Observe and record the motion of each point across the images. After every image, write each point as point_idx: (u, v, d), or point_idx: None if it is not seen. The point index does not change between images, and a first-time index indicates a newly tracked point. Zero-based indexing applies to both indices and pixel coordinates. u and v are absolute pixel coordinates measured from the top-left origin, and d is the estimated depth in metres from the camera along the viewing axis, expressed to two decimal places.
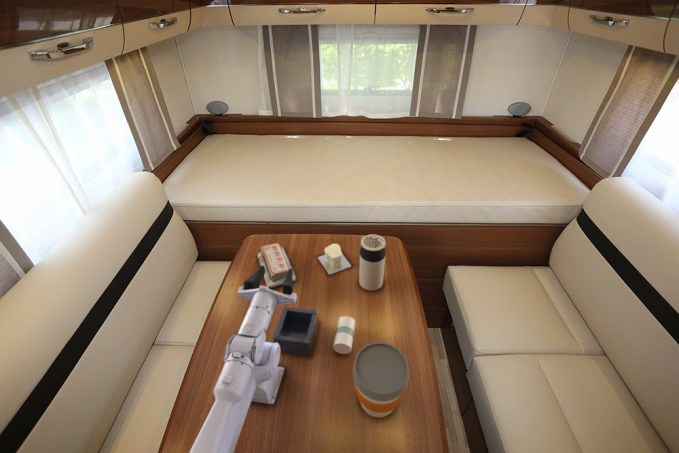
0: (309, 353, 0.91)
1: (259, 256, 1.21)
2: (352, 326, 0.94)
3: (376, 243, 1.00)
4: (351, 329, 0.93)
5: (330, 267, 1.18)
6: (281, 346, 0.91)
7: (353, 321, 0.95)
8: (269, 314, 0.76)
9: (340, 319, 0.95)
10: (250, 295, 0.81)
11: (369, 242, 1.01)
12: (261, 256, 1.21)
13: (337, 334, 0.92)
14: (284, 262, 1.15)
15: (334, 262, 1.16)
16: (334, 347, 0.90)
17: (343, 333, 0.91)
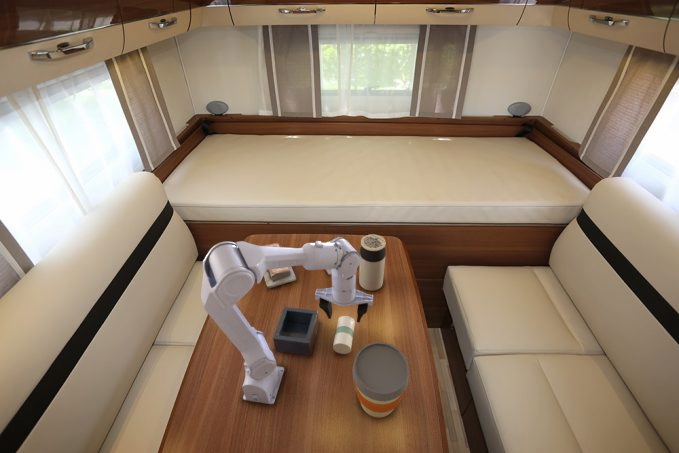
0: (309, 353, 0.91)
1: None
2: (352, 326, 0.94)
3: (376, 243, 1.00)
4: (350, 329, 0.93)
5: None
6: (281, 346, 0.91)
7: (353, 321, 0.95)
8: (352, 287, 0.79)
9: (339, 319, 0.96)
10: (328, 293, 0.84)
11: (369, 242, 1.01)
12: None
13: (336, 334, 0.92)
14: None
15: None
16: (334, 347, 0.90)
17: (342, 333, 0.91)
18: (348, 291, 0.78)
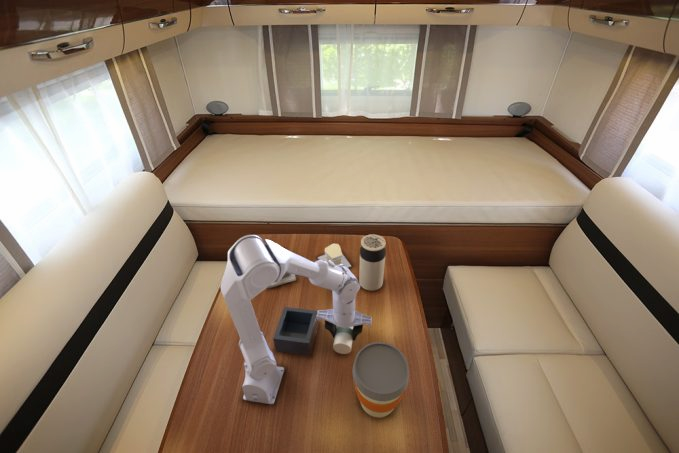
0: (309, 353, 0.91)
1: None
2: (352, 326, 0.94)
3: (376, 243, 1.00)
4: (350, 329, 0.93)
5: None
6: (281, 346, 0.91)
7: None
8: (352, 310, 0.84)
9: None
10: (329, 314, 0.89)
11: (369, 242, 1.01)
12: None
13: (337, 334, 0.92)
14: None
15: (334, 262, 1.16)
16: (334, 347, 0.90)
17: (343, 333, 0.91)
18: (348, 314, 0.84)
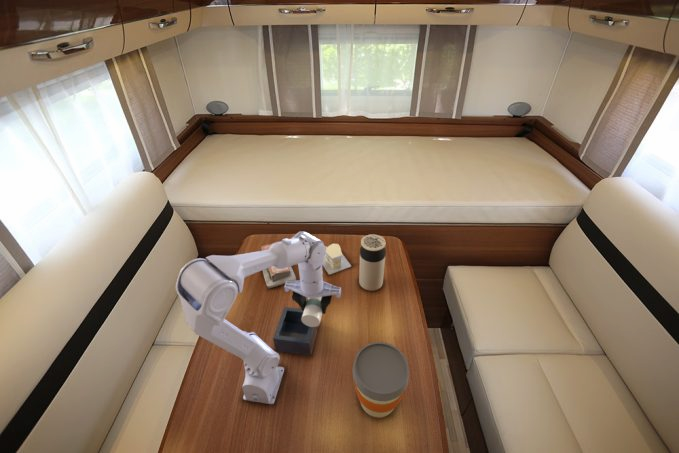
0: (309, 353, 0.91)
1: None
2: None
3: (376, 243, 1.00)
4: (320, 302, 0.89)
5: (330, 267, 1.18)
6: (281, 346, 0.91)
7: None
8: (321, 276, 0.81)
9: None
10: (297, 285, 0.86)
11: (369, 242, 1.01)
12: None
13: (306, 306, 0.88)
14: None
15: (334, 262, 1.16)
16: (302, 319, 0.87)
17: (312, 305, 0.88)
18: (314, 283, 0.80)
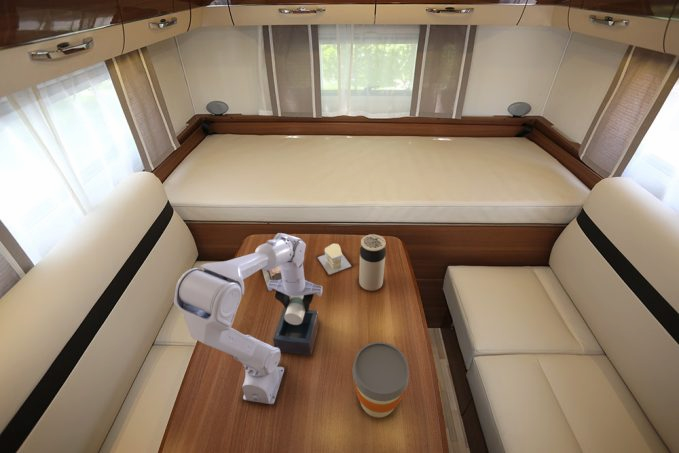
0: (309, 353, 0.91)
1: None
2: None
3: (376, 243, 1.00)
4: None
5: (330, 267, 1.18)
6: (281, 346, 0.91)
7: None
8: (303, 273, 0.84)
9: None
10: (280, 284, 0.88)
11: (369, 242, 1.01)
12: None
13: (289, 305, 0.91)
14: None
15: (334, 262, 1.16)
16: (285, 318, 0.89)
17: (294, 304, 0.90)
18: (296, 282, 0.83)
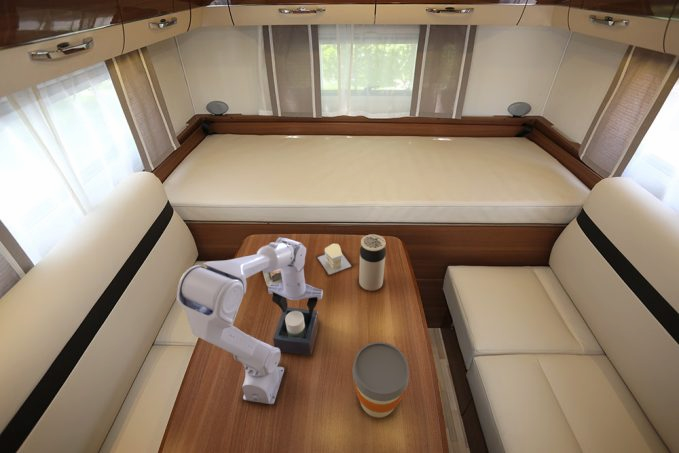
0: (309, 353, 0.91)
1: None
2: (301, 329, 0.90)
3: (376, 243, 1.00)
4: (300, 333, 0.91)
5: (330, 267, 1.18)
6: (281, 346, 0.91)
7: (300, 325, 0.89)
8: (304, 277, 0.85)
9: (286, 325, 0.89)
10: (280, 287, 0.89)
11: (369, 242, 1.01)
12: None
13: (288, 335, 0.92)
14: None
15: (334, 262, 1.16)
16: None
17: None
18: (296, 285, 0.84)
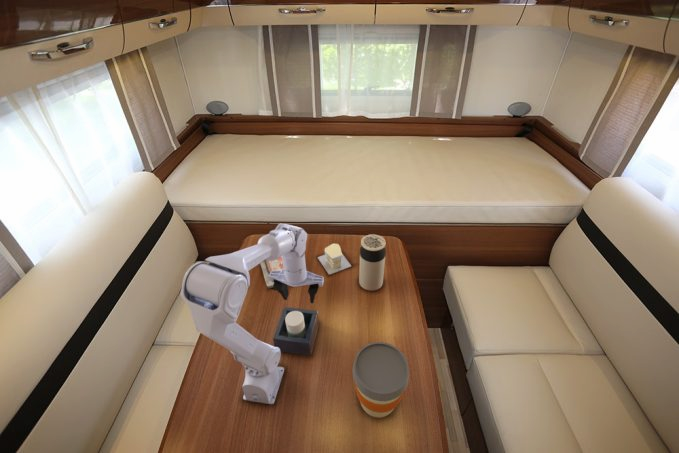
0: (309, 353, 0.91)
1: None
2: (301, 329, 0.90)
3: (376, 243, 1.00)
4: (300, 333, 0.91)
5: (330, 267, 1.18)
6: (281, 346, 0.91)
7: (300, 325, 0.89)
8: (305, 263, 0.85)
9: (286, 325, 0.89)
10: (281, 274, 0.89)
11: (369, 242, 1.01)
12: None
13: (288, 335, 0.92)
14: None
15: (334, 262, 1.16)
16: None
17: None
18: (297, 272, 0.83)
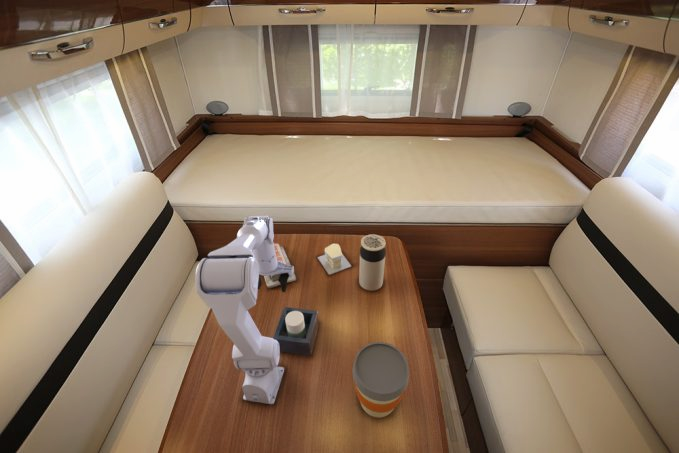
0: (309, 353, 0.91)
1: None
2: (301, 329, 0.90)
3: (376, 243, 1.00)
4: (300, 333, 0.91)
5: (330, 267, 1.18)
6: (281, 346, 0.91)
7: (300, 325, 0.89)
8: None
9: (286, 325, 0.89)
10: None
11: (369, 242, 1.01)
12: None
13: (288, 335, 0.92)
14: (284, 262, 1.15)
15: (334, 262, 1.16)
16: None
17: None
18: (267, 261, 0.87)
